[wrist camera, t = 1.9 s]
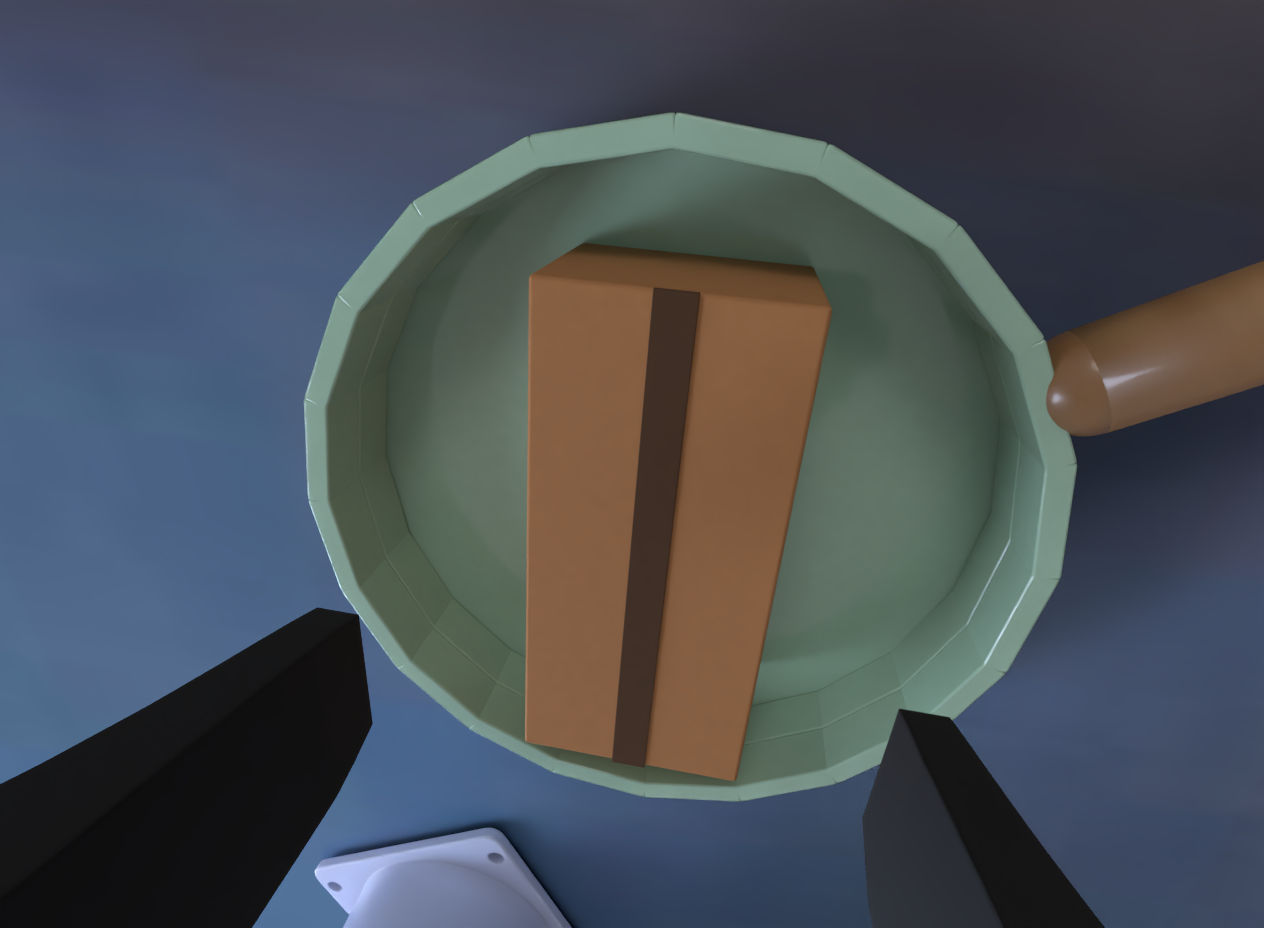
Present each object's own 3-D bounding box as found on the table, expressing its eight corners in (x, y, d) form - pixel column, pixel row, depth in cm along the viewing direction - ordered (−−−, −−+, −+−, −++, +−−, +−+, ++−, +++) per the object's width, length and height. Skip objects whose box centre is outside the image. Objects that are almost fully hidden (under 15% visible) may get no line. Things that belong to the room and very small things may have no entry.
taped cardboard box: (739, 665, 18) (736, 785, 14) (564, 635, 18) (523, 745, 15) (814, 266, 13) (834, 308, 10) (580, 241, 14) (526, 274, 10)
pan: (1081, 630, 16) (1146, 728, 13) (551, 752, 21) (521, 842, 18) (892, -43, 11) (935, -99, 9) (260, 309, 16) (161, 344, 13)
